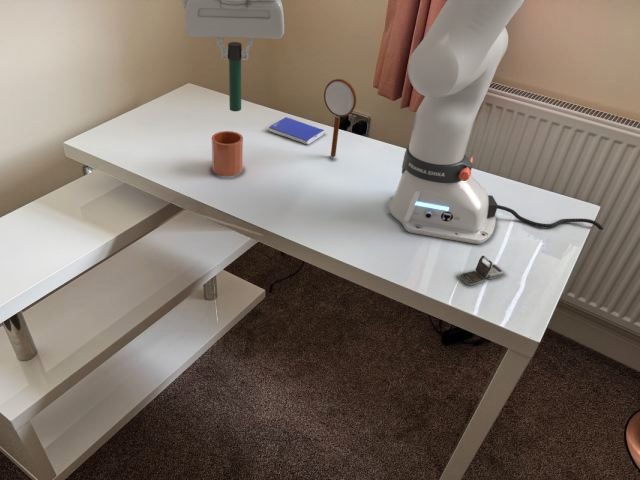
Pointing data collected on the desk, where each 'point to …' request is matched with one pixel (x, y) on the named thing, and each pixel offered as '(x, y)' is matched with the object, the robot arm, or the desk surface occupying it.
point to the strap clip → (482, 272)
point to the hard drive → (296, 130)
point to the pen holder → (227, 153)
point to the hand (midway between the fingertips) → (235, 58)
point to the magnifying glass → (339, 104)
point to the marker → (234, 75)
